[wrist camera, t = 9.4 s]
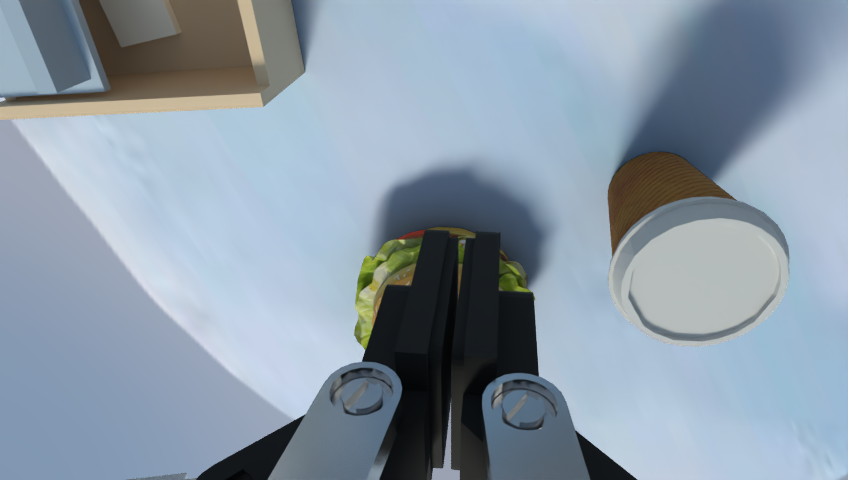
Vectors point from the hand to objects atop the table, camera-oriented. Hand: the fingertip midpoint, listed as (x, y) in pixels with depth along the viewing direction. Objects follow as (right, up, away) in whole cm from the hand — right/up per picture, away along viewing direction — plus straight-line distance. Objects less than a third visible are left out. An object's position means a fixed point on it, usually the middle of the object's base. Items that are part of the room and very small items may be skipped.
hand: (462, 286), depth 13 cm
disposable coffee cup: (+16, +5, +28) cm, 33 cm away
